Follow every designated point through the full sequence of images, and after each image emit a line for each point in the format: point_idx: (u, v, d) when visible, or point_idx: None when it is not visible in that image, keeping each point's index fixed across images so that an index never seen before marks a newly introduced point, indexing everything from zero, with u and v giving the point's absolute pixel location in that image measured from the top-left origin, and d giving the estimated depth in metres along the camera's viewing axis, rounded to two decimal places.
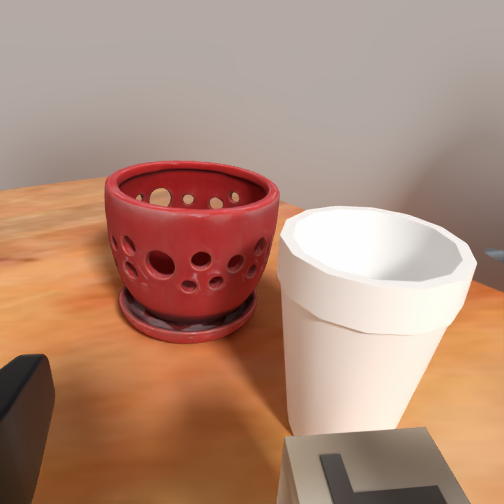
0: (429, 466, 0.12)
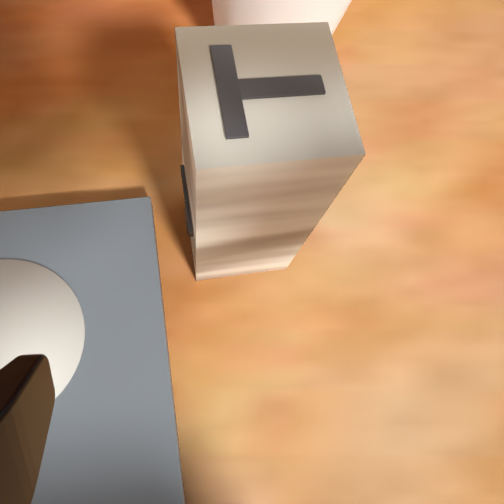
0: (319, 58, 0.12)
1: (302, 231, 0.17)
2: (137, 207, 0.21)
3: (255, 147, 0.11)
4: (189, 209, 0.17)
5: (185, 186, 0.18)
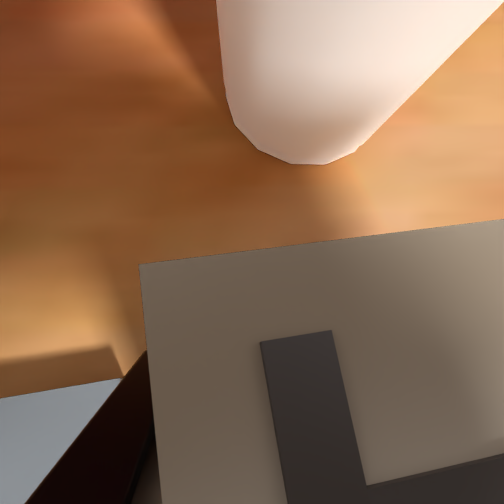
0: None
1: None
2: (97, 400, 0.12)
3: None
4: None
5: None
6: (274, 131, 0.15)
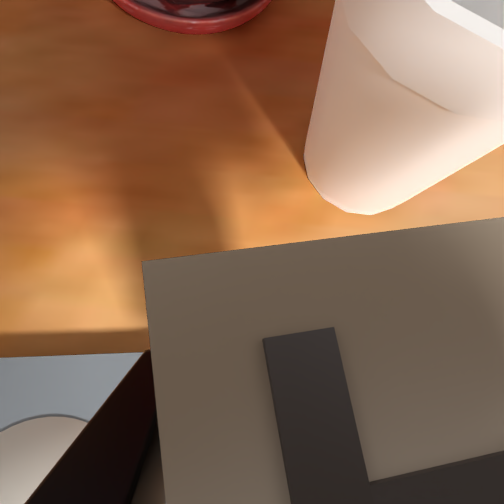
0: None
1: None
2: None
3: None
4: None
5: None
6: (339, 191, 0.21)
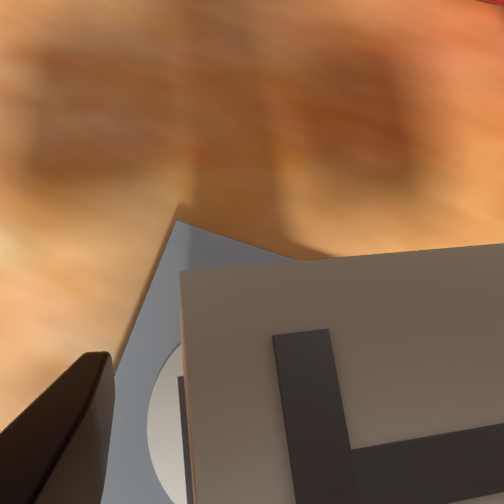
0: None
1: None
2: None
3: None
4: (189, 470, 0.10)
5: (184, 420, 0.10)
6: None
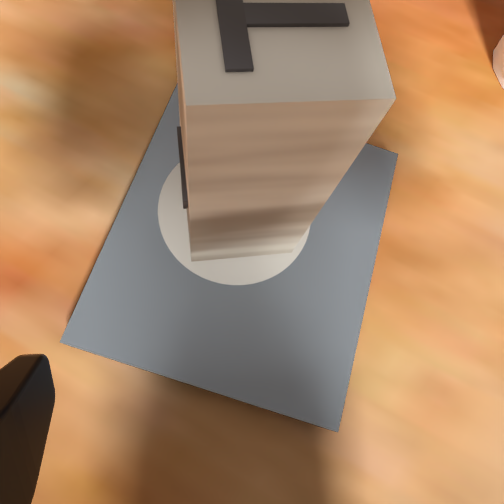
0: None
1: (312, 204, 0.15)
2: (384, 157, 0.22)
3: (261, 83, 0.09)
4: (184, 176, 0.15)
5: (181, 150, 0.15)
6: None
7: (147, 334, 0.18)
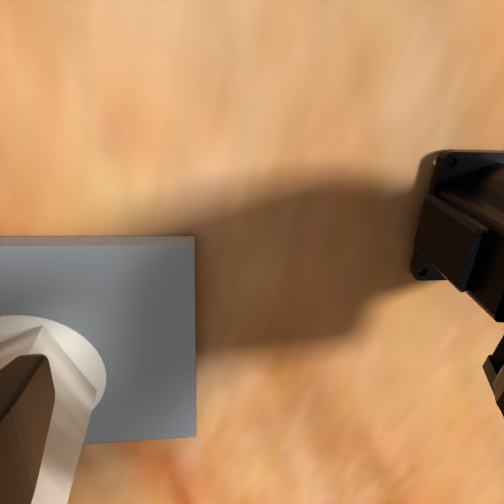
0: None
1: None
2: None
3: None
4: None
5: None
6: None
7: (169, 395, 0.22)
